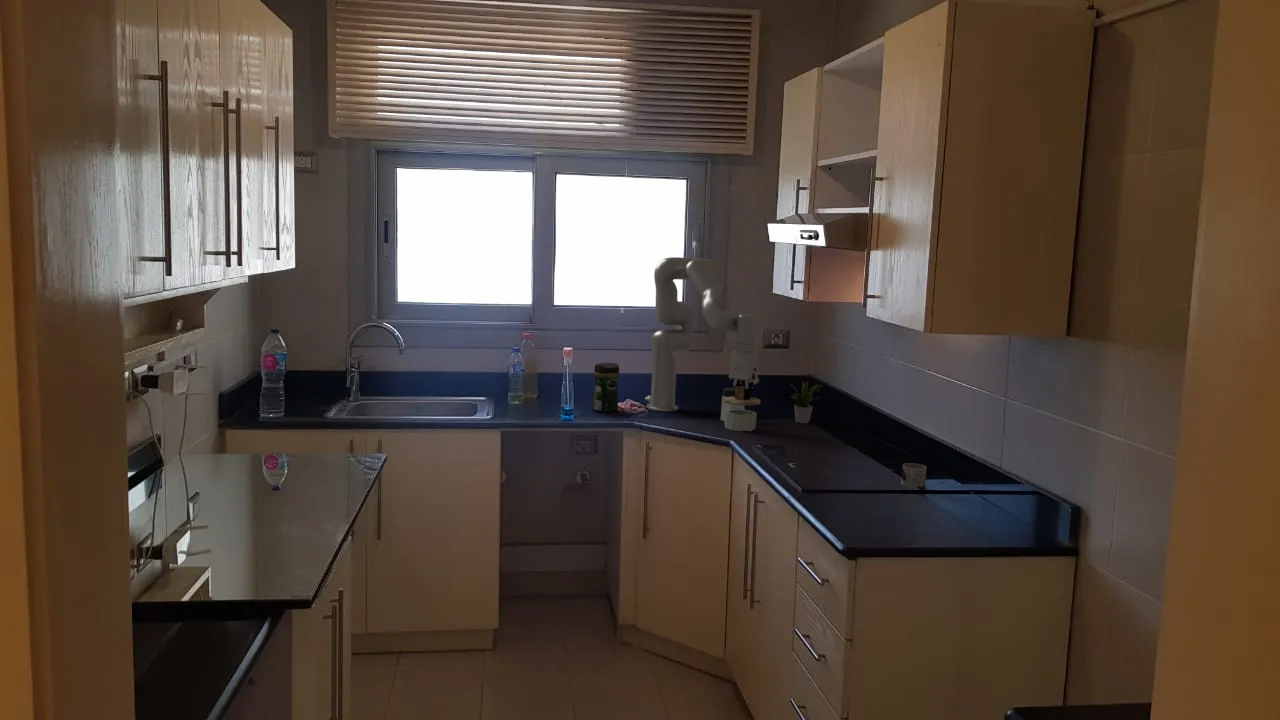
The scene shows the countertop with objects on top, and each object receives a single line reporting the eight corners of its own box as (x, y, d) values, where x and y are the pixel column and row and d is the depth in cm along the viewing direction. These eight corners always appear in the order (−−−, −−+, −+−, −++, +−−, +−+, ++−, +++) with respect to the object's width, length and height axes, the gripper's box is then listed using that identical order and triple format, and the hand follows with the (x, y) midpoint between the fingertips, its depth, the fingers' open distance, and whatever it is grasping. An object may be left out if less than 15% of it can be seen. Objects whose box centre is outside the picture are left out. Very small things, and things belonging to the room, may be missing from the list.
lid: (716, 401, 357) (717, 385, 356) (740, 398, 366) (741, 383, 365) (743, 406, 347) (744, 390, 347) (767, 403, 356) (768, 388, 355)
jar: (748, 422, 371) (750, 390, 370) (732, 423, 366) (734, 392, 364) (731, 417, 378) (733, 387, 376) (716, 419, 373) (718, 388, 371)
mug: (902, 484, 289) (904, 461, 288) (925, 487, 286) (927, 465, 285) (898, 491, 279) (900, 468, 278) (922, 495, 277) (924, 472, 276)
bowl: (718, 427, 358) (719, 410, 357) (738, 424, 366) (739, 408, 365) (741, 432, 350) (742, 416, 349) (761, 429, 358) (762, 413, 357)
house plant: (830, 425, 372) (834, 383, 370) (798, 426, 368) (801, 383, 365) (811, 418, 386) (814, 377, 383) (780, 419, 381) (783, 377, 379)
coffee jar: (608, 407, 385) (610, 360, 382) (621, 411, 379) (623, 363, 376) (588, 409, 379) (590, 361, 376) (601, 413, 373) (603, 364, 370)
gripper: (721, 345, 358) (718, 395, 360) (756, 351, 345) (753, 402, 348) (735, 345, 363) (732, 394, 365) (770, 350, 350) (766, 401, 353)
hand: (742, 397), depth 356 cm, fingers closed on lid, 4 cm apart
